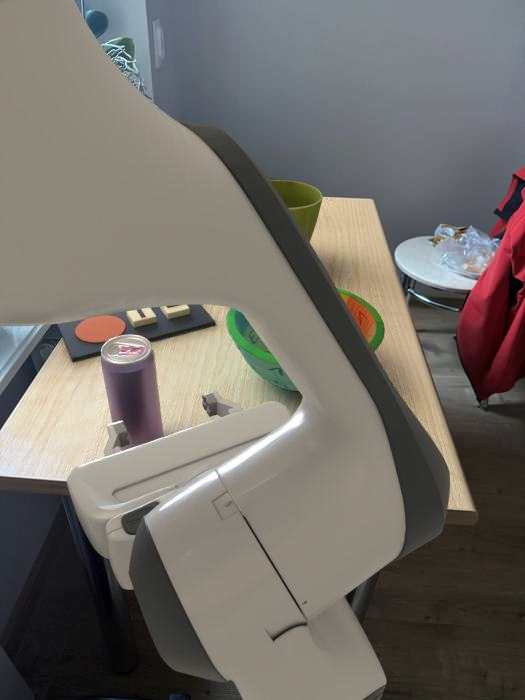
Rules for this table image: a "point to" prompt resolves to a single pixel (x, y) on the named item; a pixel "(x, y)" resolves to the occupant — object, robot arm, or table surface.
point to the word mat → (131, 327)
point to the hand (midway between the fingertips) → (163, 411)
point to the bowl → (266, 362)
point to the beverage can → (132, 387)
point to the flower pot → (300, 203)
